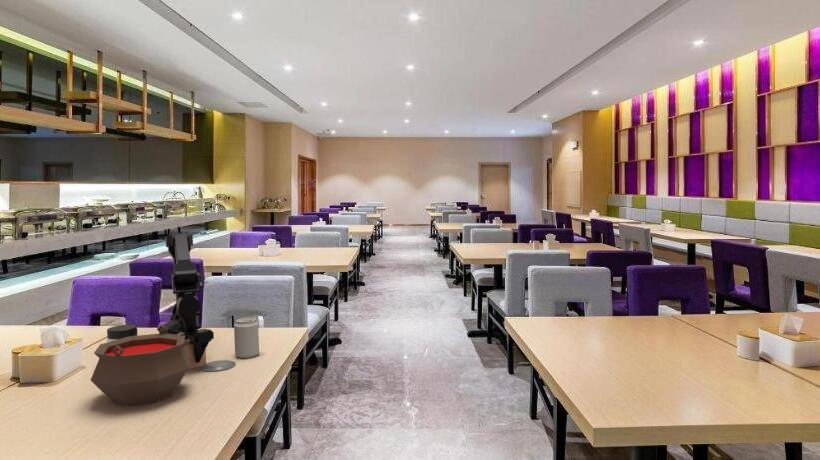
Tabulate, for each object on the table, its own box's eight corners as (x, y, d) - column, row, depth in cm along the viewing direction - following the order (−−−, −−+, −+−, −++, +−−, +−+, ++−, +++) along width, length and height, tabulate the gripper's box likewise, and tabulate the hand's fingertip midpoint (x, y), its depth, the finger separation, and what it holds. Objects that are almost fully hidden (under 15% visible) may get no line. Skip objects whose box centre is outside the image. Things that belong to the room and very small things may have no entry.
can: (252, 359, 168) (250, 322, 167) (230, 358, 169) (229, 321, 168) (263, 352, 175) (262, 316, 174) (242, 351, 177) (241, 316, 176)
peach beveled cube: (172, 365, 163) (171, 343, 162) (193, 360, 168) (192, 338, 168) (185, 370, 159) (184, 346, 158) (206, 363, 164) (205, 341, 164)
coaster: (193, 368, 160) (193, 366, 160) (222, 359, 168) (222, 358, 168) (213, 374, 154) (213, 372, 154) (242, 364, 162) (242, 363, 162)
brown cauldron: (125, 380, 151) (122, 323, 150) (208, 379, 150) (206, 322, 149) (68, 414, 127) (64, 347, 126) (167, 414, 126) (164, 346, 125)
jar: (137, 368, 161) (135, 329, 160) (106, 372, 158) (104, 332, 157) (140, 360, 169) (139, 323, 168) (111, 363, 166) (109, 325, 165)
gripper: (145, 311, 162) (147, 361, 162) (178, 318, 150) (181, 372, 151) (179, 304, 170) (181, 352, 171) (213, 311, 159) (216, 362, 160)
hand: (189, 360), depth 163 cm, fingers open, 9 cm apart
